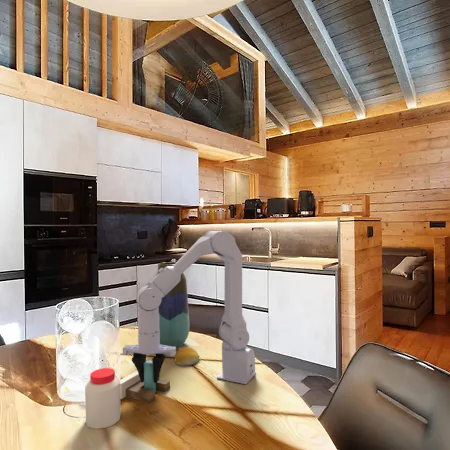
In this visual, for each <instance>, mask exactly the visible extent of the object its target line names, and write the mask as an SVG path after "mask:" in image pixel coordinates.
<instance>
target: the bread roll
mask: <svg viewBox="0 0 450 450" xmlns="http://www.w3.org/2000/svg"><path fill="white" fill-rule="evenodd" d="M173 357H174V362H175V363H176V365H179V366H192V365H194V364H196V363H198V362H199V360H200V355H199V354H198V352H197V350H196V349H194V348H192V347H182V348H179V349H178V350H176V354H175V356H173Z"/></svg>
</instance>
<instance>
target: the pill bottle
mask: <svg viewBox="0 0 450 450" xmlns="http://www.w3.org/2000/svg"><path fill="white" fill-rule="evenodd" d="M115 373H116V370H115V369H114V368H111V367H110V368H109V367H105V368H104V367H103V368H99V369H96V370H93V371H92V372H90V374H89V379H90V380H89V381H88V382H87V383H86V384H85V387H84V391H85V392H84V395H85V425H86V426H87V427H88V428H90V429H96V430H97V429H98V430H100V429H105V428H108V427H111V426H113V425H115V424H116V423H117V422H119V421H120V419H121V411H122V410H121V399H120V380H121V379H119V378H118V377H117V376H116V374H115Z"/></svg>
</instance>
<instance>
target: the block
mask: <svg viewBox="0 0 450 450" xmlns="http://www.w3.org/2000/svg"><path fill="white" fill-rule="evenodd" d="M170 389H171V381H170V380H167V379H163V378H159V380H158V382H157V383H156V391H157V390H158V391H160V392H161V391H162V392H167V391H168V390H170ZM125 398H129V399H132V400H133V399H134V400H137V401H141V402H145V403H148V404H150V403H151V402H153V401H154V400H156V399H155V398H156V393H155V391H151V390H147V389H144V382H141V381H138V382H136V383H135V384H133V385H131V386H130V387H128V388H126V397H125Z"/></svg>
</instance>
